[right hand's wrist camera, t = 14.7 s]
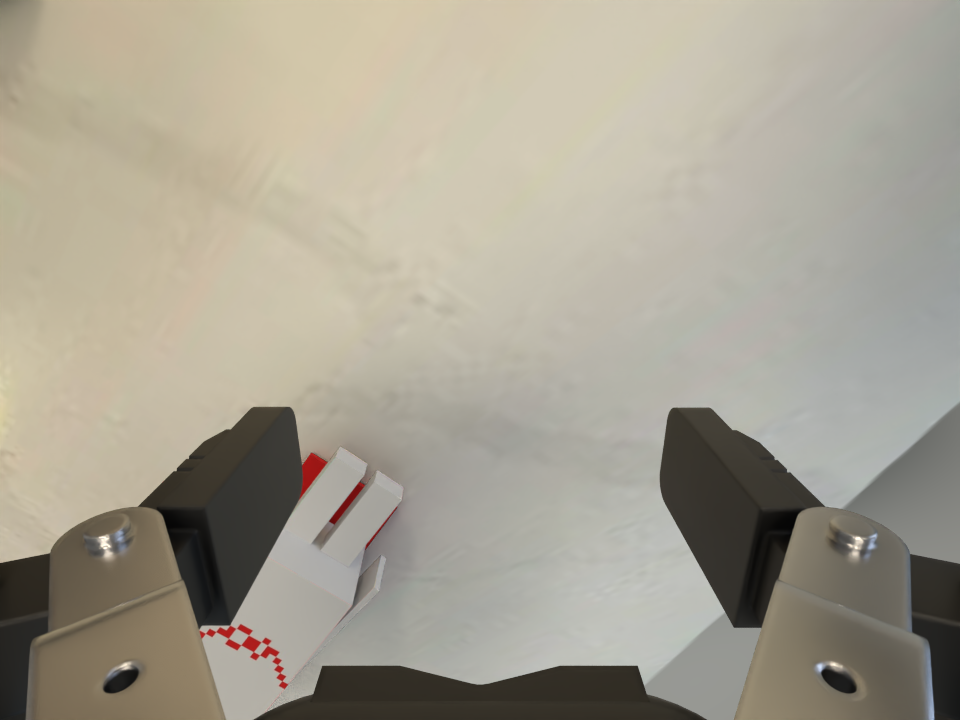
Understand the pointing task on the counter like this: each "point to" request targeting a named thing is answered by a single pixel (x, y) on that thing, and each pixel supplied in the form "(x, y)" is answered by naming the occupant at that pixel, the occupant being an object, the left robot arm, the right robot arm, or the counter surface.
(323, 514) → the toy
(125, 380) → the counter surface
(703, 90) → the counter surface
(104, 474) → the counter surface
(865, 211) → the counter surface
